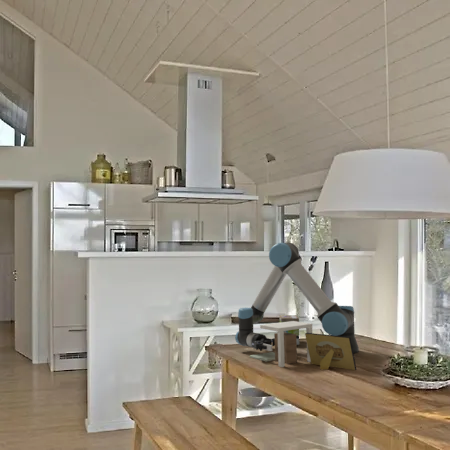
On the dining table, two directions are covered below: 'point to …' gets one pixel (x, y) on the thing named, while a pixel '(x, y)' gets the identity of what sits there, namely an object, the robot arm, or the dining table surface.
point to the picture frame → (330, 351)
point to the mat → (264, 356)
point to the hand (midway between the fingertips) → (283, 346)
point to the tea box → (286, 319)
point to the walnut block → (287, 348)
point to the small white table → (280, 331)
